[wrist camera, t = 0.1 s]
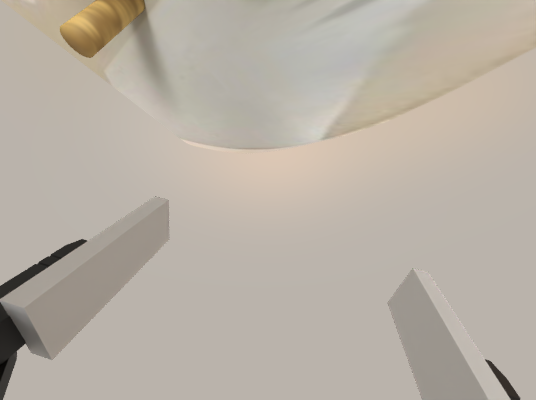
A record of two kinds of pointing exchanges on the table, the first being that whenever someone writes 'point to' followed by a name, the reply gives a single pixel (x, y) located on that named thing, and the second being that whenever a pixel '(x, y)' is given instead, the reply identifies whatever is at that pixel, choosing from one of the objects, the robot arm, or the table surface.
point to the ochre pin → (99, 24)
